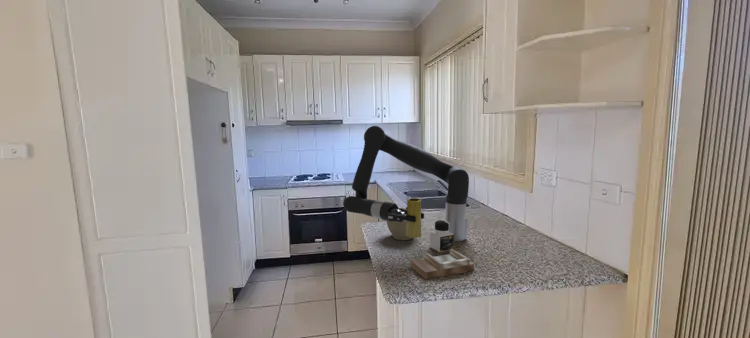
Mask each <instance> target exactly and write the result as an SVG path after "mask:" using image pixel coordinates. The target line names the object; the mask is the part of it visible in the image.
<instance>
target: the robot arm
mask: <svg viewBox="0 0 750 338" xmlns="http://www.w3.org/2000/svg"><path fill="white" fill-rule="evenodd" d="M363 141H364V146H363V151H362V153H361V154H362V155H361V159H360V161H359V164H358V165H357V168H356V172H355V174H354V177H353V181H352V184H351V189H352V190H353V191H355V196H354V195H350V196H349V195H348V196H347V197H345V199H344V200H343V203H342V205H343V208H344V210H345V211H346V212H349V213H352V214H353V213H354V214H361V215H365V216H368V217H372V218H376V219H378V220H384V221H386V222H387V221H397V222H403V221H410V222H416V216H411V215H407V206H406V207H405V208H404V207H398V205H397V204H396V203H395V202H389V201H386V200H385V201H384V200H377V199H376V200H375V199H369V198H368V190H369V185H370V181H371V178H372V174H373V171H374V167H375V162H376V159H377V156H378V154H379V151H382V152H383V153H386V154H388V155H390V156H392V157H393V158H395V159H397V160H398V161H400V162H402V163H404V164H405V165H407V166H409V167H411V168H413V169H416V170H418V171H421V172H423V173H426V174H431V175H432V176H435V177H437V178H439V179H440V180H442V181H444V182H445V183H446V184H448V185H447V194H446V196H445V213H444V214H445V216H444V221H447V222H449V232H450V233H453V234H454V236H453V242H463V241H465V240H467V235H468V234H467V233H468V219H467V218H466V217H467V215H466V214H467V199H468V195H469V188H470V186H469V185H470V175H469V174H468V172H467V171H466V169H465V170H464V169H462V168H461V167H457V166H454V165H451V164H448V163H447V162H443V161H442V160H440V159H438V158H437V157H435V156H434V155H432V154H431V153H430V152H428V151H426V150H424V149H423V148H420V147H418V146H416V145H415V144H414V145H413V144H411V143H408V142H404V141H402V140H401V141H400V140H398V139H396V138H393V137H392V136H390V135H389V134H387V133H385V130H384V129H383V128H382V127H381V126H379V125H372V126H369V127H368V128H366V130H365V132H364V134H363ZM424 219H425V213H424V212H421V220H424Z"/></svg>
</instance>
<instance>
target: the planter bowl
mask: <svg viewBox="0 0 750 338" xmlns="http://www.w3.org/2000/svg"><path fill="white" fill-rule="evenodd" d="M406 224H407V221H403V222H397V221H387V220H386V225H387V229H388V230H389V232H390V233H391V236H392V238H393V239H395V240H398V241H409V240H412V239H413V238H411V237H408V236H406Z"/></svg>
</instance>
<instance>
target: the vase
mask: <svg viewBox="0 0 750 338" xmlns="http://www.w3.org/2000/svg"><path fill="white" fill-rule="evenodd" d="M406 205H407V206H406V207H407V215H411V216H416V222H410V221H407V224H406V236H408V237H411V238H412V239H417V238H420V237H422V219H421V213H422V199H421V198H416V197H412V198H407V203H406Z"/></svg>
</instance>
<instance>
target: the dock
mask: <svg viewBox="0 0 750 338" xmlns="http://www.w3.org/2000/svg"><path fill="white" fill-rule="evenodd" d="M410 267H411V268H412V269H413V270H414V271H415V272H416V273H418V274H419V275H420V276H421V277H423V278H424V279H425V280H428V279H434V278H435V279H436V278H440V277H445V276H450V275H456V274H461V273H467V272H471V271H472V272H473V271H475V270H474V269H475V263H473V262H472V261H471V259H470V258H468V257H467V256H465V255H464V254H462V253H460V252H459V251H457V250H455V249H454V248H453V249H450V251H449V253H448V254H443V255H441V254H440V255H437V256H434V255H431V254H430V253H428V252H424V257H422V258H417V259H411V260H410Z"/></svg>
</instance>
